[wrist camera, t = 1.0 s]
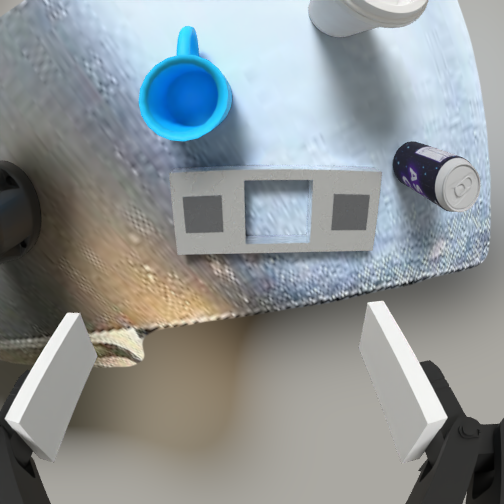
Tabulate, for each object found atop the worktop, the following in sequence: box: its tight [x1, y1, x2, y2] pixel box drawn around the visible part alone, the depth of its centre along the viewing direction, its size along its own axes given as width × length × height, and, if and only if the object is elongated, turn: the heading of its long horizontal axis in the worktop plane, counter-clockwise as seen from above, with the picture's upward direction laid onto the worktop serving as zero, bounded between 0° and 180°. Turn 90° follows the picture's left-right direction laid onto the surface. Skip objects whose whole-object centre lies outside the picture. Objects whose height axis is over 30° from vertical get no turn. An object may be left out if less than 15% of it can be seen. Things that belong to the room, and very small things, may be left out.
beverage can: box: [393, 142, 480, 212], centre depth 31 cm, size 6×6×12 cm
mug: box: [139, 26, 232, 141], centre depth 29 cm, size 12×8×8 cm
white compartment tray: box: [169, 165, 382, 255], centre depth 38 cm, size 24×10×3 cm, turn 91°
